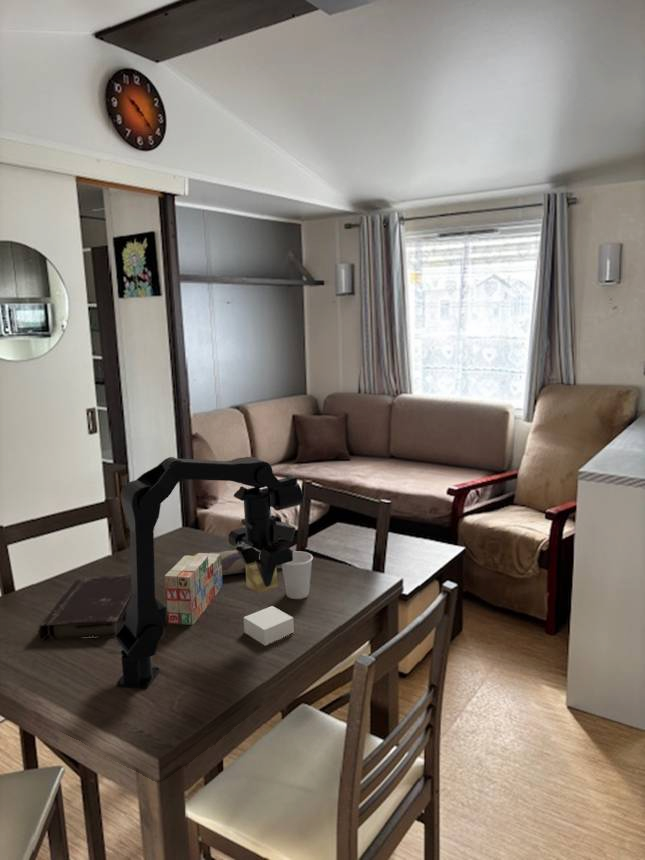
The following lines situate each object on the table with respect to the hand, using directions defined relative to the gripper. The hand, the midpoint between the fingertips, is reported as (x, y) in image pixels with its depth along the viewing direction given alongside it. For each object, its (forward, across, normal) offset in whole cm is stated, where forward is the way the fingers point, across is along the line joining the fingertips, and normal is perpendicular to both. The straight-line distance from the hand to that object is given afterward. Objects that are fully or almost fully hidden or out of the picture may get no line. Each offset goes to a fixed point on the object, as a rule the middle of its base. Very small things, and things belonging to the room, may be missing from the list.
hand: (261, 581), depth 142 cm
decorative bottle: (+13, +33, -11) cm, 37 cm away
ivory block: (+13, 0, -1) cm, 13 cm away
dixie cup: (+13, +12, -17) cm, 24 cm away
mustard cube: (+1, 0, 0) cm, 1 cm away
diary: (+13, +34, +28) cm, 45 cm away
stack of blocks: (+13, +23, +6) cm, 27 cm away
